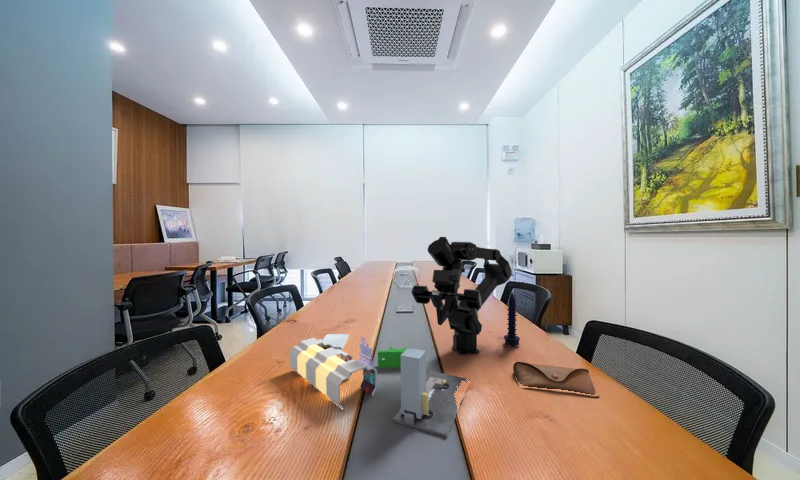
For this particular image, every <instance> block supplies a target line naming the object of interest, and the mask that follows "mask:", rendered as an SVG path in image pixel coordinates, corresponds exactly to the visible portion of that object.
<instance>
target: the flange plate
mask: <svg viewBox="0 0 800 480" xmlns="http://www.w3.org/2000/svg"><path fill="white" fill-rule="evenodd" d="M466 379H467V377H462V376H456V375H453V374H449V373H448V374H447V373H442V372H438V371H433V370H429V371H428V372H426V393H428V394H429V413H428V414H427V415H424V414H423V416H422V418H421V419H418V418H416V413H414V412H411V411H407V410H406V412H405V413H404V414H400V409H399V410H398V412H396V414H395V416H394V417H393V418H392V422H394V423H397V424H399V425H403V426H406V427H409V428H413V429H416V430H420V431H422V432H423V431H424V432H427V433H430V434H434V435H437V436H440V437H443V438H448V436H449V433H450V431H451V428H452V426H453V424H454V422H455V420H456V417H457V415H458V413H457V410H458V409H457V405H456V403H457V402H456V400H455V399H456V398H455V397H454V396H455V395H453V394H454V393H455V391H457V387H456V386H458V388H459V385H460V383H462V382H461V381H462V380H463V381H465V382H466V381H467V380H468V379H469V380H470V379H471V378H468V379H467V380H466ZM469 380H468V381H469ZM466 383H467V382H466ZM460 386H461V385H460ZM455 402H456V403H455ZM456 414H457V415H456Z"/></svg>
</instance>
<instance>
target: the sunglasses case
mask: <svg viewBox="0 0 800 480" xmlns="http://www.w3.org/2000/svg"><path fill="white" fill-rule="evenodd" d="M512 369H513V370H512V372H513V371H514V373H515V376H516V378H517V381H518V382H519V383H520V384H522V385H523V386H528V387H537V388H547V389H561V390H568V391H574V392H580V393H585V394H591V395H595V392H596V389H595V387H594V385H593V384H594V383H593V382H592V379H591V376H590V371H589V369H586V368H583V367H582V368H575V367H574V368H572V367H565V366H559V365H558V366H555V365H548V364H538V363H537V364H536V363H528V362H524V361H523V362H522V361H516V362H514V364H513V367H512ZM515 376H514V377H515ZM517 381H516V382H517Z"/></svg>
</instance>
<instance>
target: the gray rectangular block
mask: <svg viewBox="0 0 800 480" xmlns="http://www.w3.org/2000/svg"><path fill="white" fill-rule="evenodd" d="M426 375H427V350H423V349H416V348H412V347H407V350H406V351H405V352H403V353H402V354H401V367H400V409H399V410H400V414H404V413H405V412H406V410H407V411H411V412H414V413H416V418H418V419H421V418H422V416H423V414H424V415H427V414H428V413H429V394H428V393H426Z"/></svg>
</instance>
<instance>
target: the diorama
mask: <svg viewBox="0 0 800 480" xmlns="http://www.w3.org/2000/svg"><path fill="white" fill-rule="evenodd" d="M359 348H360V351H359V352H358V356H359V358H358V360H356V359H353V356H352V355H350V354H349V353H347V352H346V351H344V350H343V349H342V350H340V349H334V348H333V346H332V345H330V344H329V343H327V342H325V341H323V339H321V338H319V339H318V338H316V337H312V338H308V339H304V340H301V341H299V343H298V344H297V345H294V346H292V348H291V349H290V350H288V351H289V353H288V354H289V359H288V360H289V368H291V369H292V370H295V371H296V372H297V373H298V374H300V375H301V376H302V377H303V378H305V379H306V380H307V381H308V382H310V383H311V384H312V385H313V386H315V387H316V388H317V389H318V390H320V391H321V392H322V393H323V394H325V395H326V396H327V397H328V398H330V399H331V400H332V401H333V402H335V403H336V404H337V405H338V406H340V407H341V408H343V407H344V406H343V405H342V404H341V402H340V400H341V384H342V383H343V381H346V380H347V379H350V378H351V376H352V375H353V373H356V372H359V371H361V370H362V374H363V375H362V376H363V377H362V380H361V384H360V385H359V388H360V387H361V388H362V389H361V388H360V389H361V390H362V391H364V392H365V393H367V394H369V395H370V396H374V394H375V392H376V389H377V387H378V369H376V368H375V367H374V366H373V363H374V361H373V357H372V356H371V355H372V351H373V350H372V347H370V346H369V342H366V338H364V336H361V337H360V342H359ZM338 356H340V357H338ZM296 372H295V373H296ZM297 373H296V374H297ZM298 374H297V375H298ZM301 376H300V377H301ZM302 377H301V378H302ZM303 378H302V379H303ZM306 380H305V381H306ZM307 381H306V382H307ZM347 381H348V380H347ZM308 382H307V383H308ZM311 384H310V385H311ZM312 385H311V386H312ZM313 386H312V387H313ZM317 389H316V390H317ZM318 390H317V391H318ZM322 393H321V394H322ZM323 394H322V395H323ZM327 397H326V398H327ZM328 398H327V399H328ZM333 402H332V403H333ZM338 406H337V407H338Z"/></svg>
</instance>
